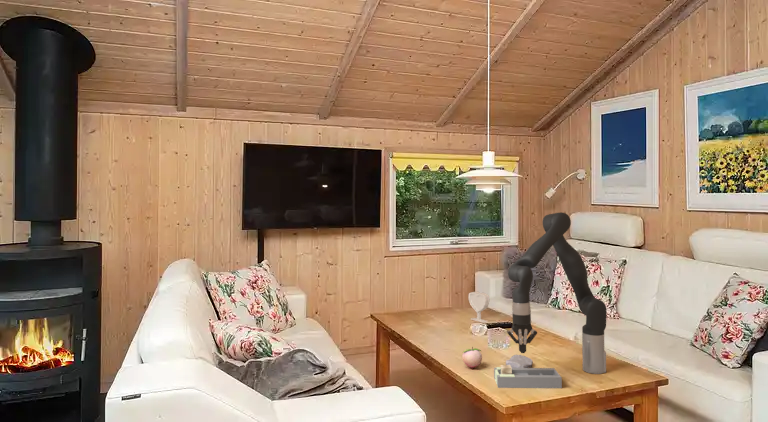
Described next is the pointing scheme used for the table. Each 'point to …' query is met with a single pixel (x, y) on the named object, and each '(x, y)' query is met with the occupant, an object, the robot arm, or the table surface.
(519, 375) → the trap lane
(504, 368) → the cube
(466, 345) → the table surface
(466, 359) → the decorative fruit
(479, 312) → the heart sculpture
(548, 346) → the table surface
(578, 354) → the table surface
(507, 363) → the stone block
